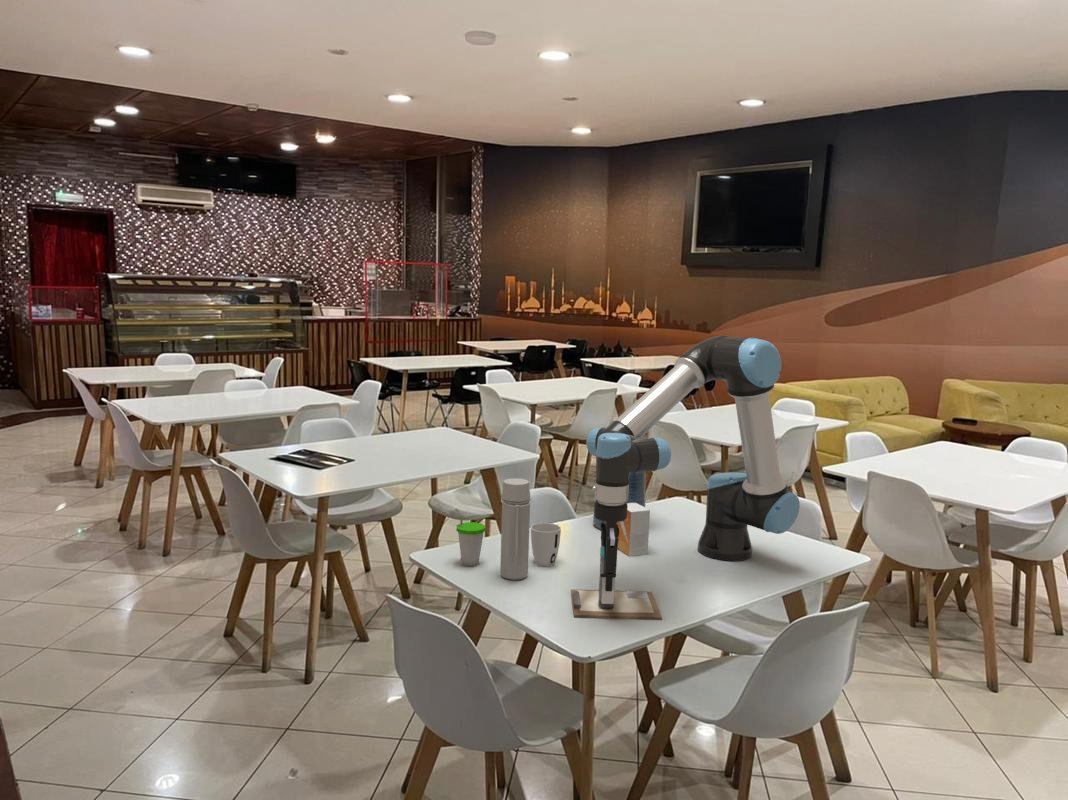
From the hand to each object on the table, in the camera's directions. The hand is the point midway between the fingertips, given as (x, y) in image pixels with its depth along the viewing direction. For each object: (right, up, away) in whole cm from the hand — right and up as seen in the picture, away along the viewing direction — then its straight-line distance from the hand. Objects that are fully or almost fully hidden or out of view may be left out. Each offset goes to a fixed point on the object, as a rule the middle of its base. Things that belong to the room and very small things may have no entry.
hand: (606, 599), depth 179 cm
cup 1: (-34, +2, +28) cm, 44 cm away
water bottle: (-22, +1, +19) cm, 29 cm away
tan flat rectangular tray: (+2, -2, +3) cm, 5 cm away
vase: (+10, +6, +65) cm, 66 cm away
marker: (0, -2, 0) cm, 2 cm away
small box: (+11, +3, +42) cm, 44 cm away
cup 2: (-14, +2, +30) cm, 33 cm away
